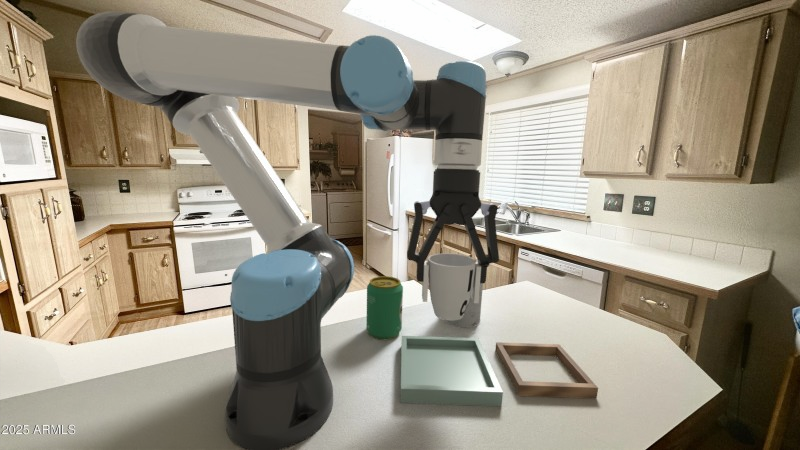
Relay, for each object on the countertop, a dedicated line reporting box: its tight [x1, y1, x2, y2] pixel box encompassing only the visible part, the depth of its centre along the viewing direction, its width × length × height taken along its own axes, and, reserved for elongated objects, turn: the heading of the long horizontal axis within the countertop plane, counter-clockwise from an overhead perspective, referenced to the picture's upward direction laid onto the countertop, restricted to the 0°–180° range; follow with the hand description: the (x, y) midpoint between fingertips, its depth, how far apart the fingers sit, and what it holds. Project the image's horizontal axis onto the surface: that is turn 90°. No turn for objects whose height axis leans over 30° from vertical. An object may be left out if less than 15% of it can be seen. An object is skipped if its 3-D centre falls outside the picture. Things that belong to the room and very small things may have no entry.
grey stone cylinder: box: [442, 283, 484, 328], centre depth 78 cm, size 10×10×12 cm
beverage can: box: [366, 275, 404, 341], centre depth 70 cm, size 8×8×12 cm
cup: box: [427, 253, 477, 321], centre depth 54 cm, size 8×8×10 cm
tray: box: [400, 335, 504, 407], centre depth 57 cm, size 16×16×2 cm
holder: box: [495, 341, 599, 400], centre depth 58 cm, size 13×13×2 cm
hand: (449, 299), depth 55 cm, fingers closed on cup, 8 cm apart
